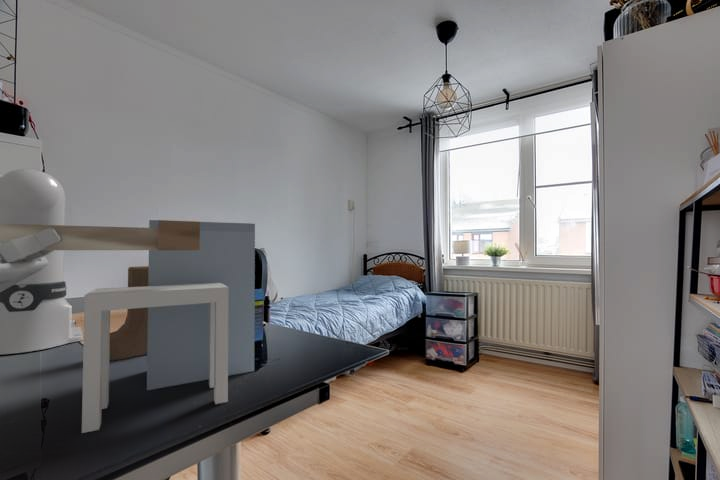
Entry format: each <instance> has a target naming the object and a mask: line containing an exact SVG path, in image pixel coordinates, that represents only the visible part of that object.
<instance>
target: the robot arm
mask: <svg viewBox="0 0 720 480" xmlns="http://www.w3.org/2000/svg"><path fill="white" fill-rule="evenodd" d="M65 213H66V194H65V190H64V187H63V186H62V184H61V183H60V182H59V180H57V179H56V178H55V177H53V176H52V175H51V174H49V173H47V172H44V171H42V170H37V169H34V168H33V169H32V168H20V169H13V170H11V171H8V172H7V173H5V174H3V173H2V174H1V173H0V224H29V225H65V219H66V216H65V215H66V214H65ZM61 241H62V237H61V236H60V235H59V233H58V232H57V231H56V230H55V229H50V228H49V229H45V230H43V231H40V232H38V233H35V234H32V235H28V236H24V237H21V238H17V239H13V240H10V241H7V242H5V243H4V242H0V355H11V354H20V353H28V352H29V353H30V352H33V351H34V352H35V351H40V350H46V349H50V348H51V349H52V348H55V347H58V346H63V345H66V344H70V343H76V342H81V341H84V333H83V330H82V327H81V326H76V325H77V321H76V320H74V319H73V320H72V315H73V314H72V312H73V311H72V309H73V307H72V305H71V304H70V303H69V302H68V301H67V299H66V296H67V284H66V283H67V281H64V274H65V273H64V272H65V270H64V269H65V268H64V267H65V266H64V265H65V250H42V249H44V248H48V247H50V246H53V245H55V244H57V243H60V242H61Z"/></svg>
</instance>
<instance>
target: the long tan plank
mask: <svg viewBox="0 0 720 480" xmlns="http://www.w3.org/2000/svg"><path fill="white" fill-rule="evenodd" d="M158 220H159V224H158V228H149V227H138V226H137V227H134V226H133V227H132V226H94V225H65V224H64V225H29V224H0V242H4V243H5V242H7V241H10V240H13V239H17V238H21V237H24V236H28V235H32V234H35V233H38V232H40V231H43V230H45V229H49V228H50V229H55V230H56V231H57V232H58V233H59V235H60V236H61V237H62V241H61V242H60V243H57V244H55V245H53V246H50V247H48V248H44V249H42V250H64V251H149V250H200V222H201V221H193V220H192V221H190V220H188V221H187V220H168V219H165V220H164V219H163V220H162V219H158Z"/></svg>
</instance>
